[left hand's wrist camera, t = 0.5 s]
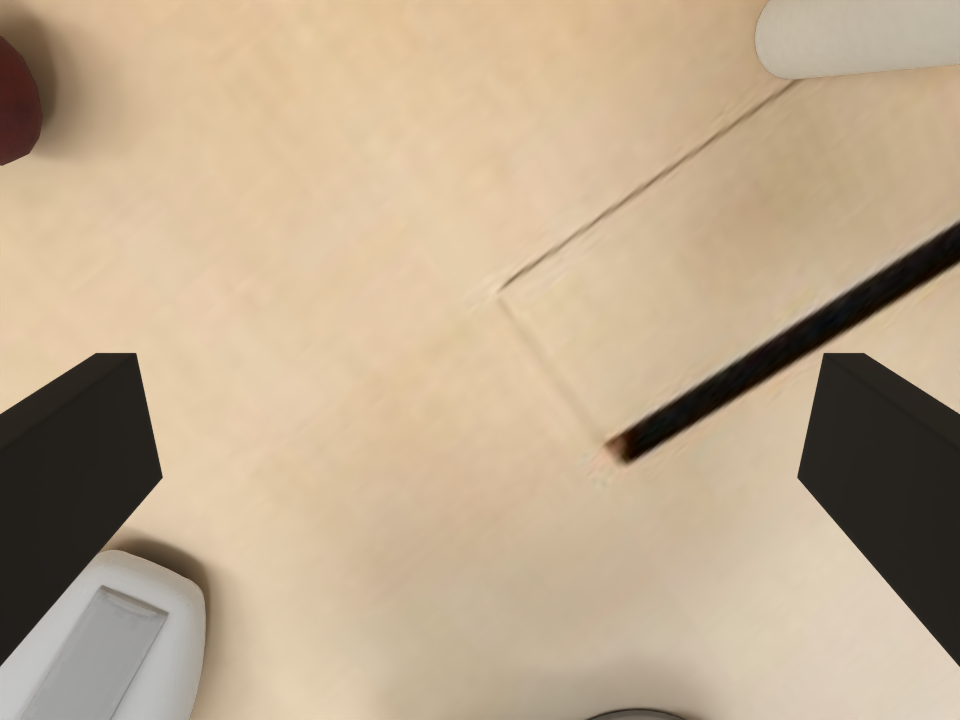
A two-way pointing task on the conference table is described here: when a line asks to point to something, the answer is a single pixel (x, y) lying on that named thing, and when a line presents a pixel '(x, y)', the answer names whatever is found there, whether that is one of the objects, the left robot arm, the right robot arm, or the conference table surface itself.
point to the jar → (856, 36)
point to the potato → (17, 106)
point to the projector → (111, 648)
